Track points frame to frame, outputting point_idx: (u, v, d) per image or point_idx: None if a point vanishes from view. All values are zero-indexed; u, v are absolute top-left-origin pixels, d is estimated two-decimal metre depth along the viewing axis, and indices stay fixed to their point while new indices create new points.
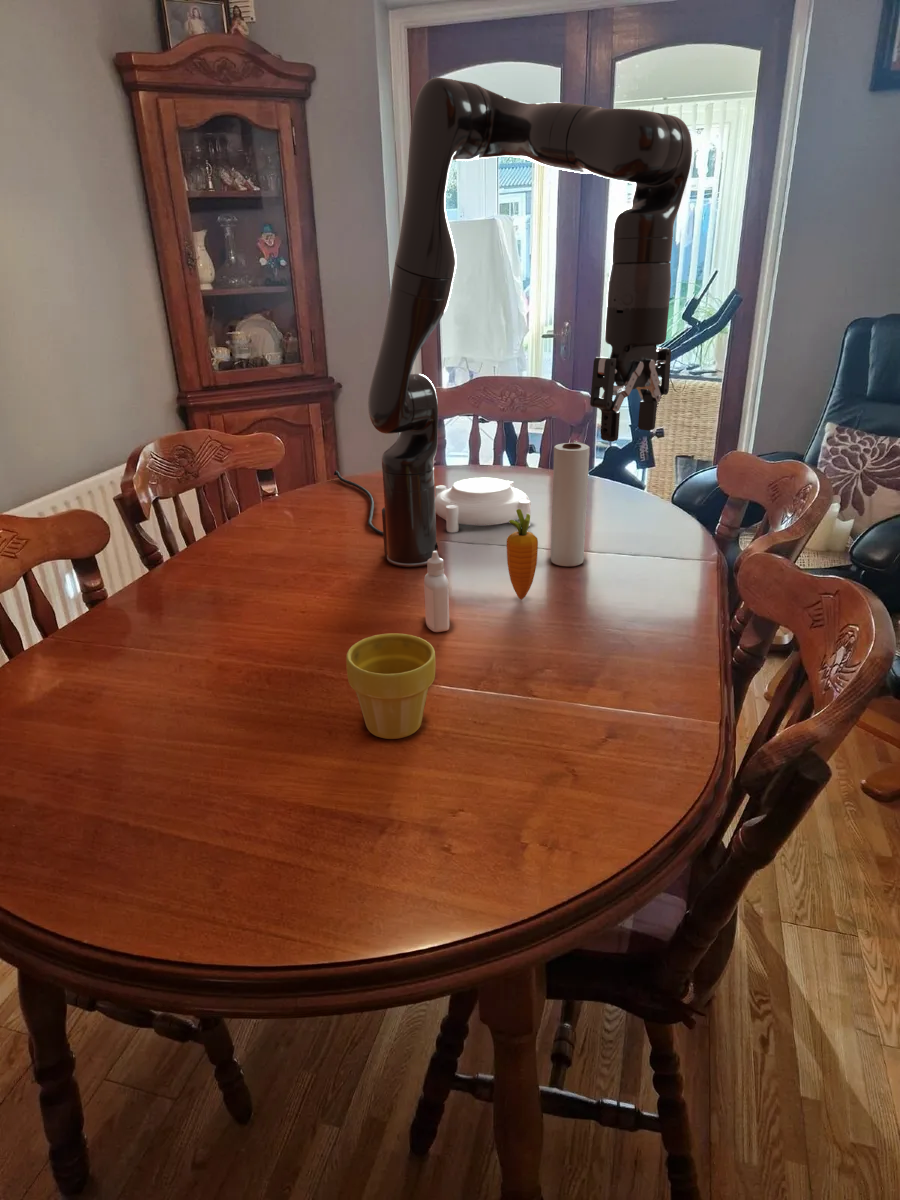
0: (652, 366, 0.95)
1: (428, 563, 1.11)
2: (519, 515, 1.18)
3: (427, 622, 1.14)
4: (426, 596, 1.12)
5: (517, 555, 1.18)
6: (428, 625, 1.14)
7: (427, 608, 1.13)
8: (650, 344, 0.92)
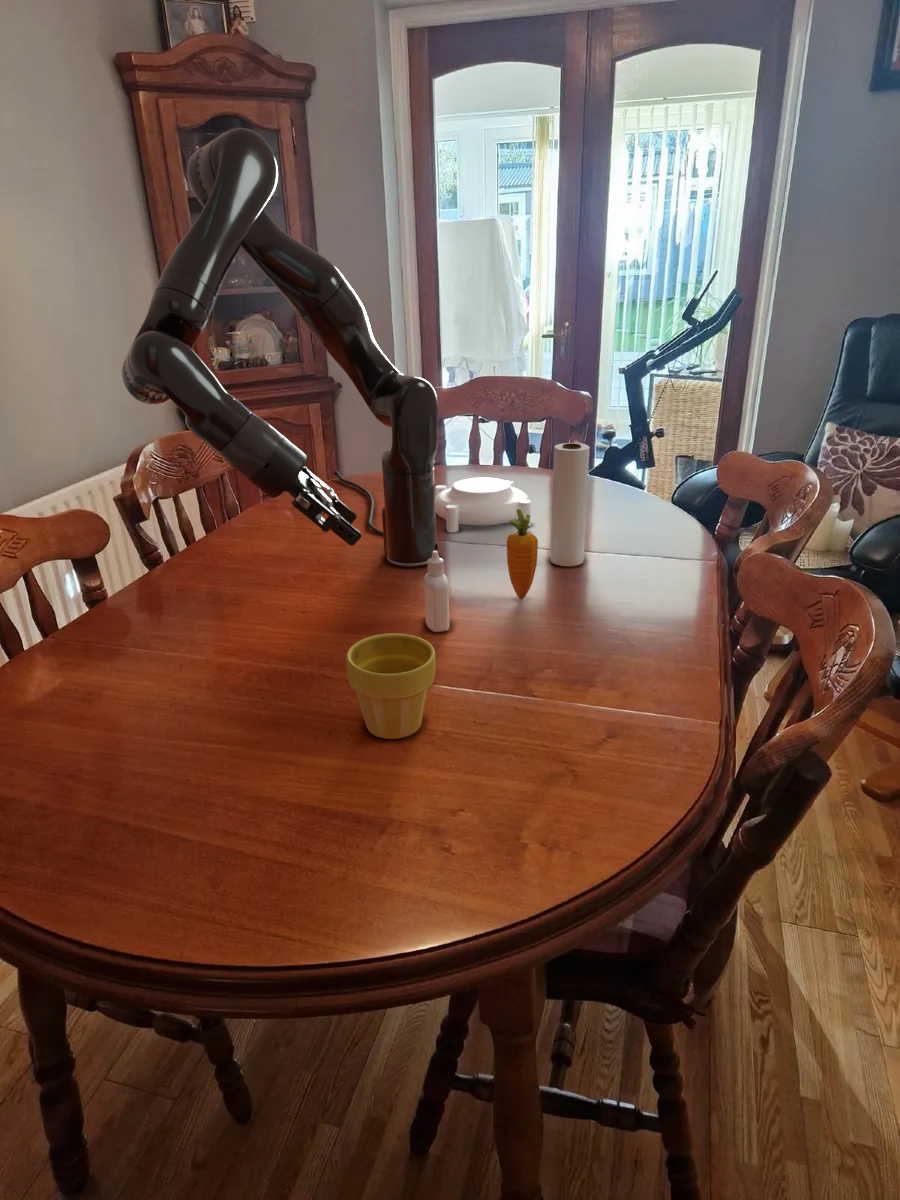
0: (315, 478, 1.04)
1: (428, 563, 1.11)
2: (519, 515, 1.18)
3: (427, 622, 1.14)
4: (426, 596, 1.12)
5: (517, 555, 1.18)
6: (428, 625, 1.14)
7: (427, 608, 1.13)
8: (305, 462, 1.00)
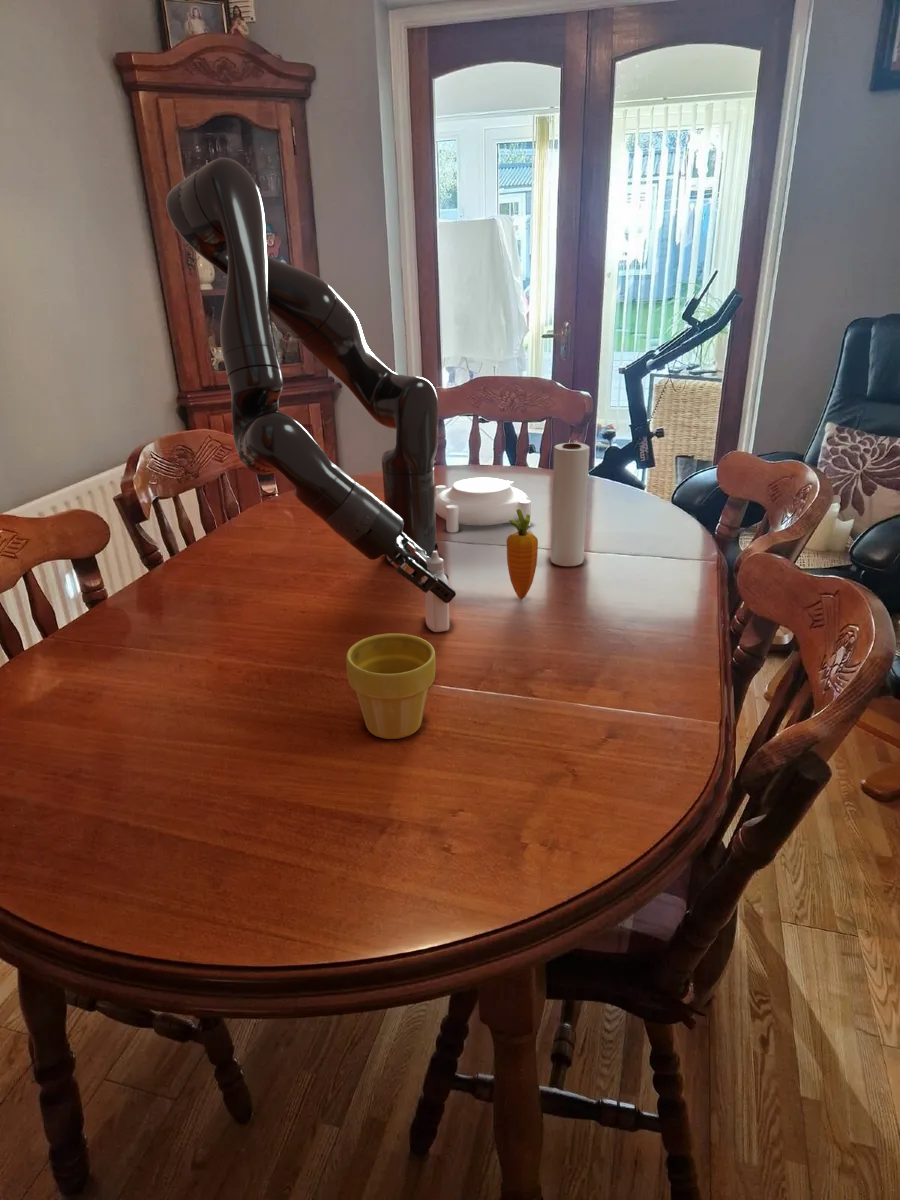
0: (409, 539, 1.10)
1: None
2: (519, 515, 1.18)
3: (427, 622, 1.14)
4: (426, 596, 1.12)
5: (517, 555, 1.18)
6: (428, 625, 1.14)
7: (427, 608, 1.13)
8: (402, 526, 1.06)
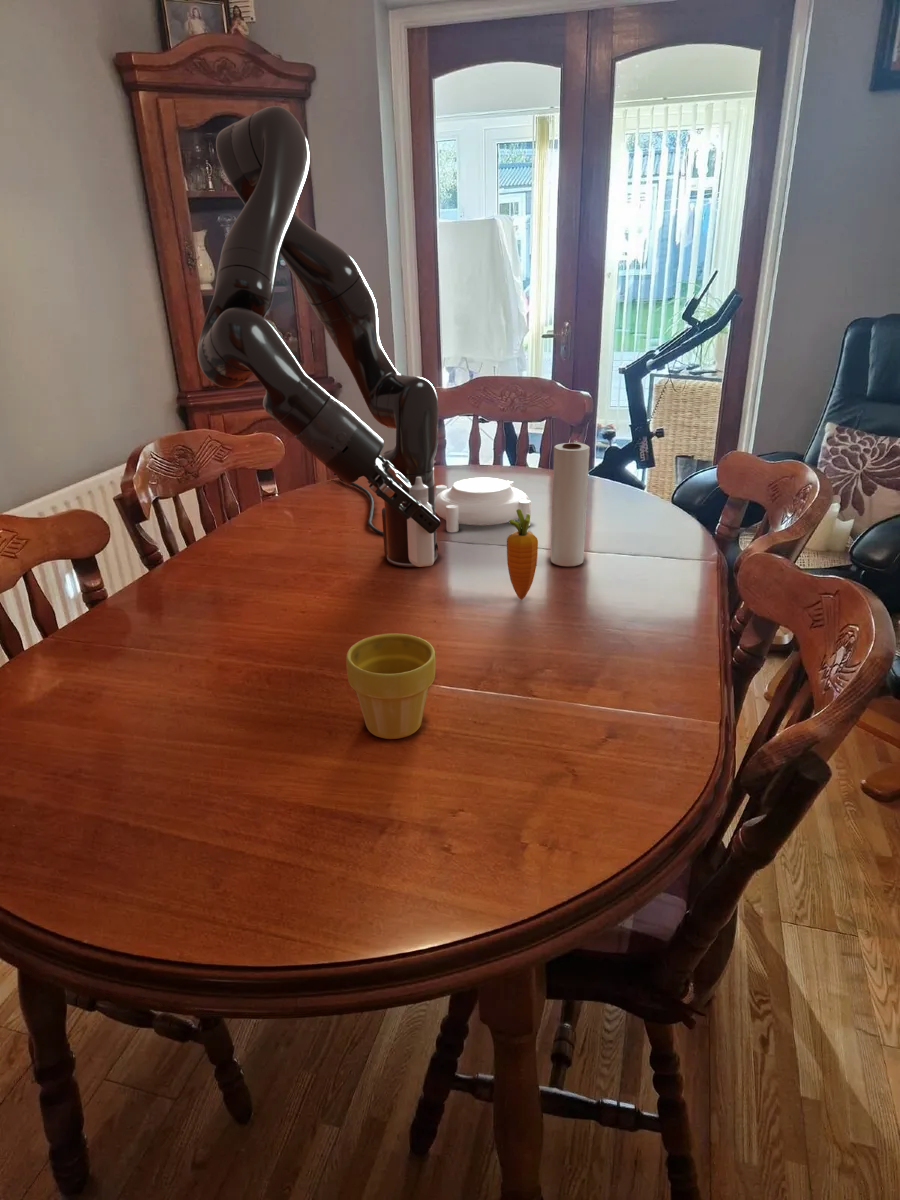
0: (391, 463, 1.01)
1: None
2: (519, 515, 1.18)
3: (410, 556, 1.05)
4: (409, 527, 1.03)
5: (517, 555, 1.18)
6: (411, 560, 1.05)
7: (410, 540, 1.04)
8: (383, 446, 0.97)
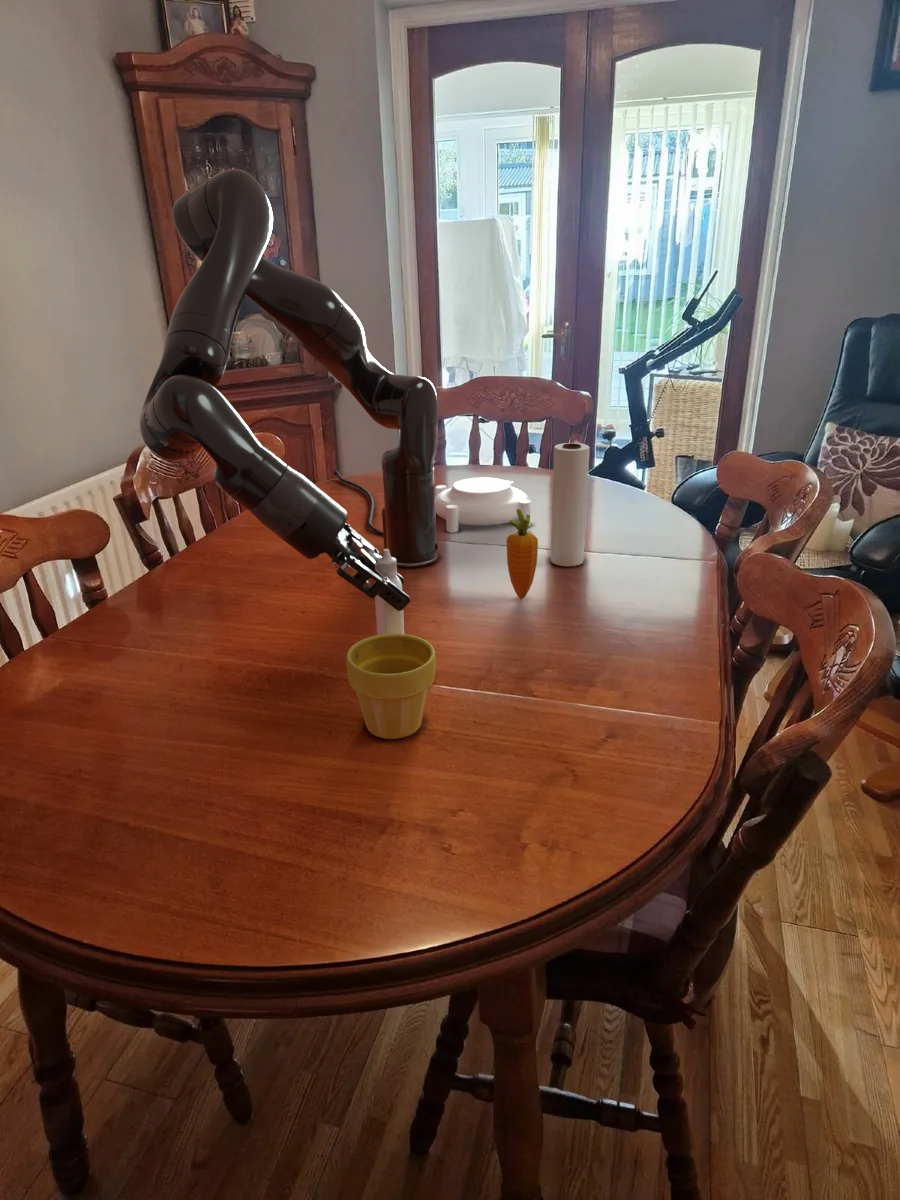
0: (356, 535, 0.93)
1: (378, 563, 0.94)
2: (519, 515, 1.18)
3: (378, 633, 0.97)
4: (376, 602, 0.95)
5: (517, 555, 1.18)
6: None
7: (377, 616, 0.96)
8: (346, 520, 0.89)
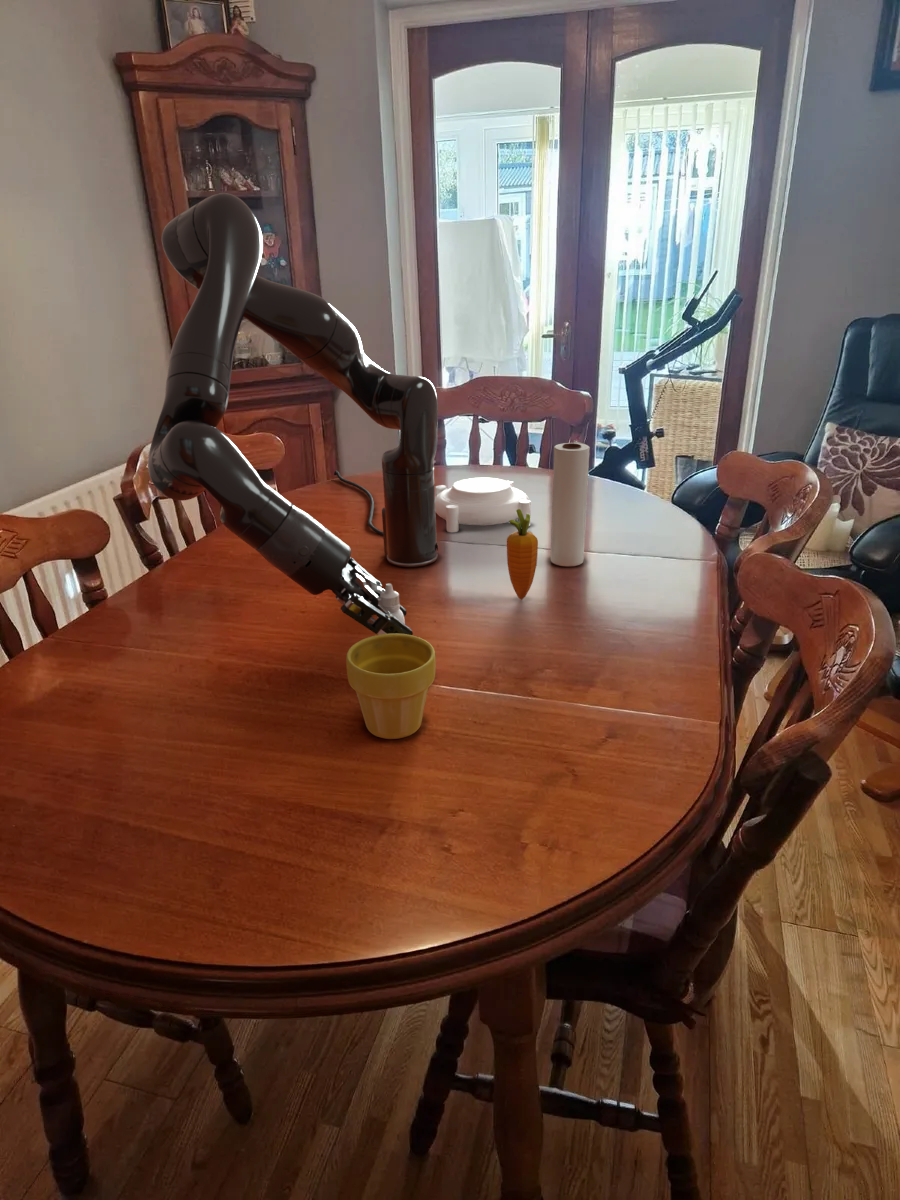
0: (359, 570, 0.95)
1: (381, 598, 0.96)
2: (519, 515, 1.18)
3: None
4: None
5: (517, 555, 1.18)
6: None
7: None
8: (349, 557, 0.91)
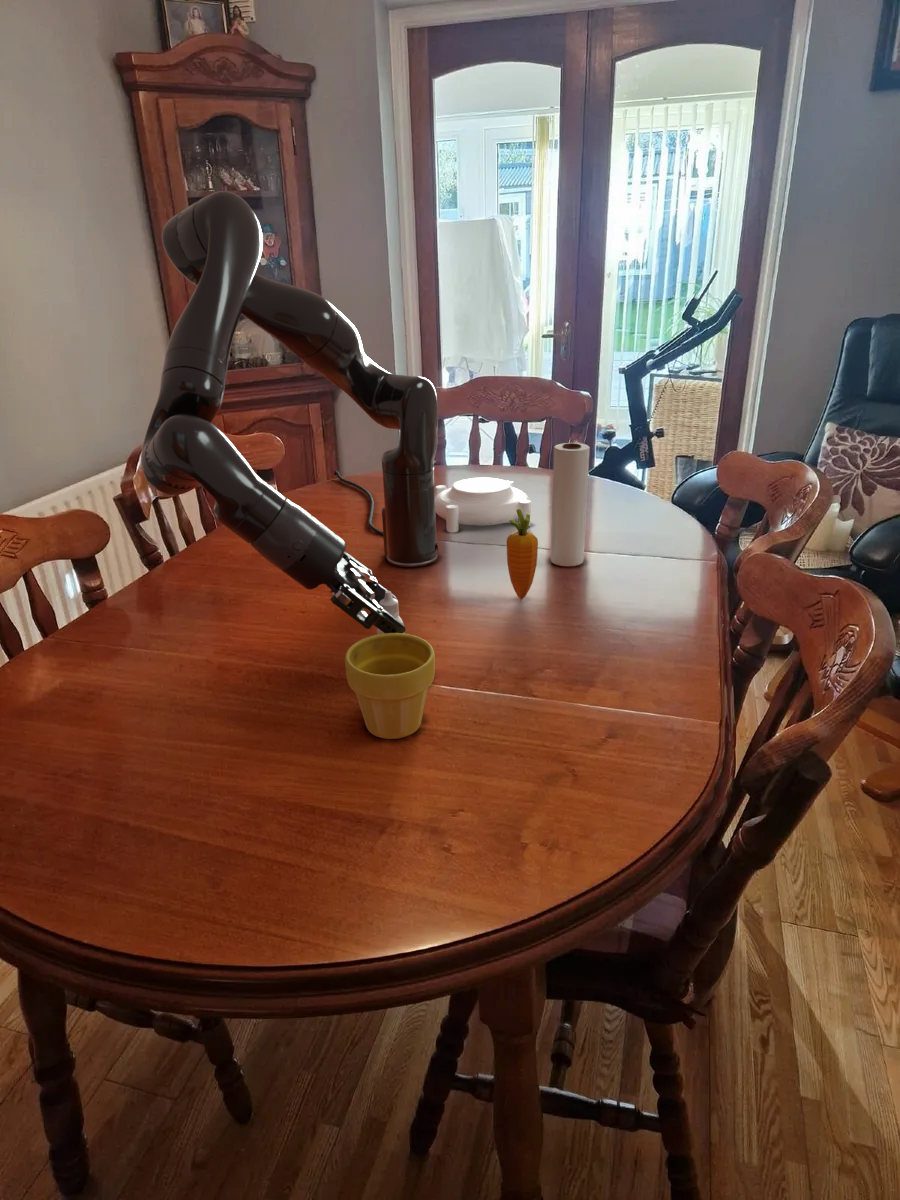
0: (354, 564, 0.95)
1: (380, 605, 0.96)
2: (519, 515, 1.18)
3: None
4: None
5: (517, 555, 1.18)
6: None
7: None
8: (344, 551, 0.91)
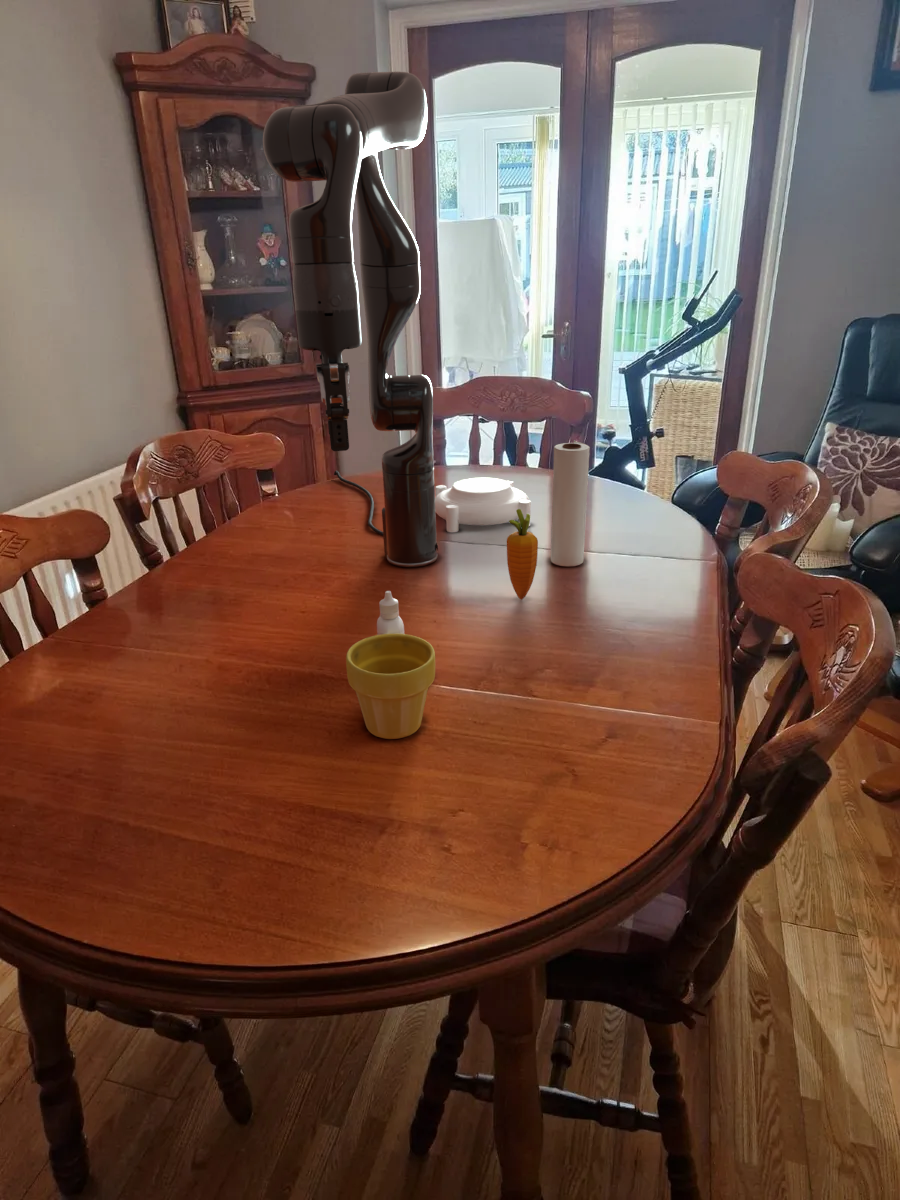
0: None
1: (380, 605, 0.96)
2: (519, 515, 1.18)
3: None
4: None
5: (517, 555, 1.18)
6: None
7: None
8: (358, 346, 0.90)
